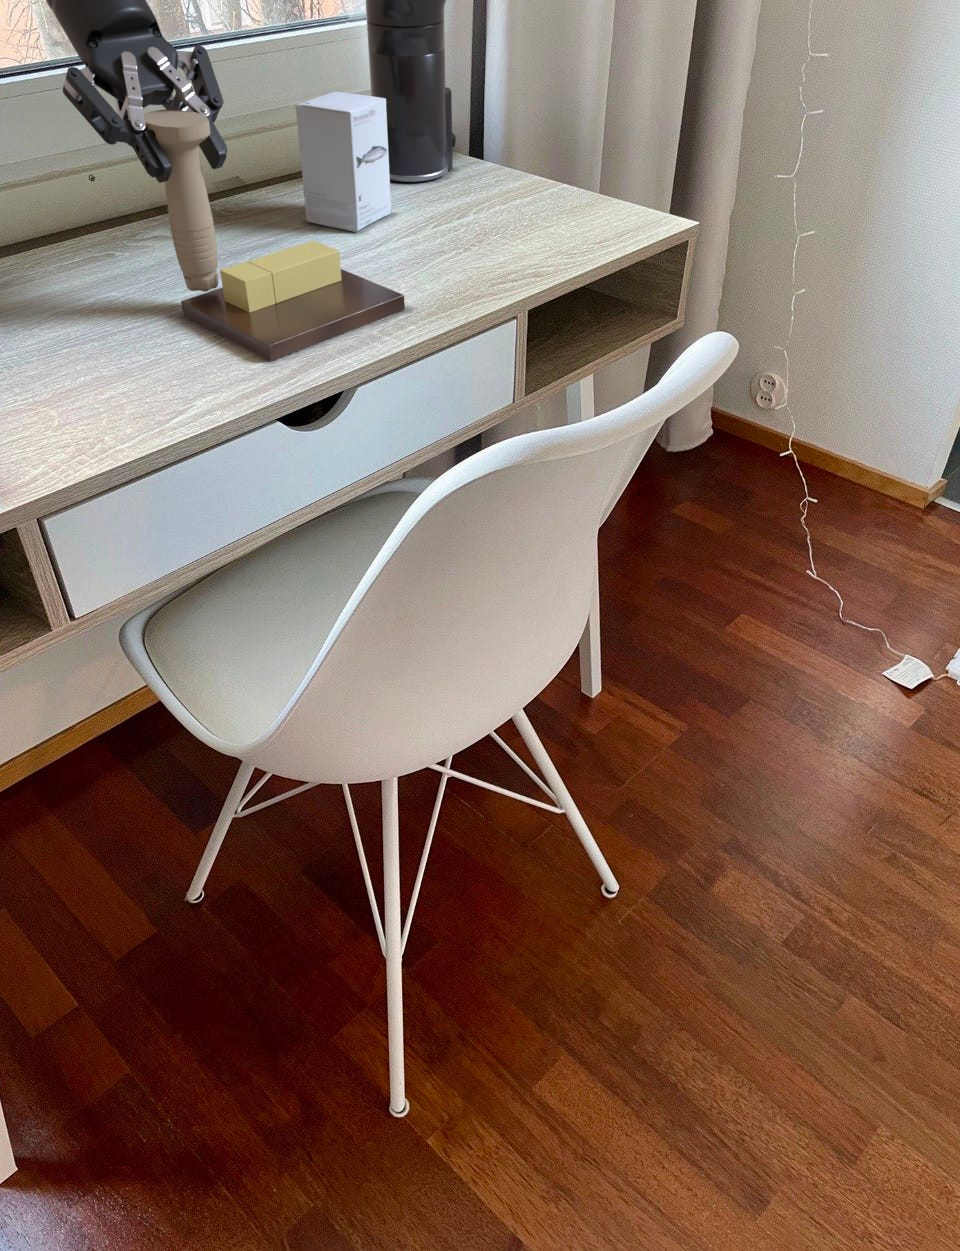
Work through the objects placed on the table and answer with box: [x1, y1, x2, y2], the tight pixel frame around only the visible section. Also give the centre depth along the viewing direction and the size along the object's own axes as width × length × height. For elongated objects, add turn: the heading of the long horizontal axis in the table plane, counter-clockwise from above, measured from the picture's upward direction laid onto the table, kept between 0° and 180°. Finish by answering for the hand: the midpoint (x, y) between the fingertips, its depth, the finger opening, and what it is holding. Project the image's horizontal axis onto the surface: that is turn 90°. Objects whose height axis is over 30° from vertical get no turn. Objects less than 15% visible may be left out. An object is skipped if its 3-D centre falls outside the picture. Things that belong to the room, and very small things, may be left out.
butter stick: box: [246, 239, 342, 303], centre depth 101 cm, size 8×4×3 cm, turn 135°
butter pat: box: [219, 261, 275, 313], centre depth 98 cm, size 3×4×3 cm
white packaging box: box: [295, 91, 392, 233], centre depth 117 cm, size 7×7×13 cm
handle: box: [143, 108, 219, 293], centre depth 95 cm, size 5×6×15 cm
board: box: [180, 268, 406, 362], centre depth 100 cm, size 16×14×2 cm
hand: (193, 169), depth 92 cm, fingers closed on handle, 5 cm apart
